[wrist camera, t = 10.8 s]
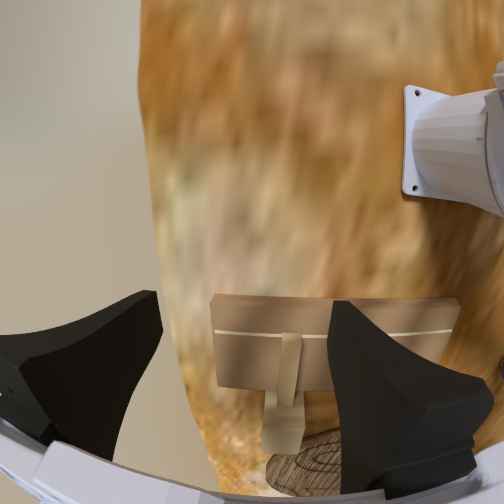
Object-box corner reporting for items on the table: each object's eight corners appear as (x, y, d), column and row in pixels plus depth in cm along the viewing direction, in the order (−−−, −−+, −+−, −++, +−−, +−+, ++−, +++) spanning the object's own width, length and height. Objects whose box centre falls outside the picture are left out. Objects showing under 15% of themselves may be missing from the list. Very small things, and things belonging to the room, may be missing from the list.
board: (453, 297, 20) (462, 306, 19) (424, 371, 24) (430, 382, 22) (214, 293, 22) (209, 304, 21) (221, 374, 25) (217, 386, 24)
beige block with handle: (312, 319, 22) (319, 365, 17) (296, 417, 27) (296, 458, 22) (269, 318, 23) (265, 364, 17) (264, 416, 27) (260, 457, 22)
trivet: (385, 484, 35) (387, 492, 33) (256, 488, 37) (255, 496, 35) (458, 408, 26) (462, 417, 24) (282, 416, 28) (281, 429, 26)
